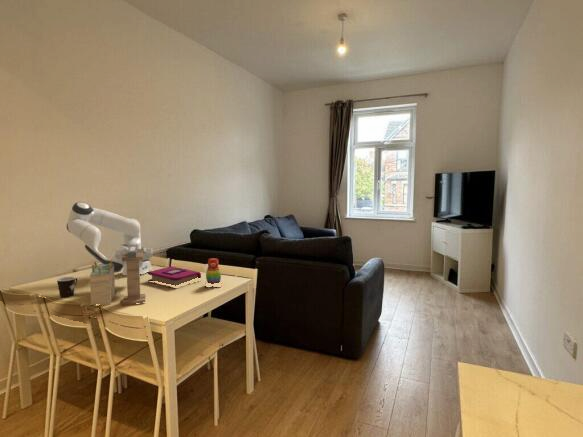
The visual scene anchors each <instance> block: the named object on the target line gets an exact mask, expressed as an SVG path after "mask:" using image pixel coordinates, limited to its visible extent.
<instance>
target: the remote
mask: <svg viewBox="0 0 583 437" xmlns="http://www.w3.org/2000/svg"><path fill="white" fill-rule="evenodd" d="M137 252H138V245H130V247H129V250H128V252H127V255H128V258H136V256H137Z"/></svg>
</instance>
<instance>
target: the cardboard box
mask: <svg viewBox="0 0 583 437" xmlns="http://www.w3.org/2000/svg"><path fill="white" fill-rule="evenodd" d="M91 270H92V272H91V273H90V275H89V285H90V288H89V290H90V306H91V305H96V304H100V306H106V305H107V306H108V305H111V304H112V301H113V299H114V296H115V293H116V286H115V285H116V284H115V283H116V281H115V273H114V265H113V263H112V260H111V261H110V264H108V265H103V264H98V260H97V261H96V260H95V261H93V264H91Z"/></svg>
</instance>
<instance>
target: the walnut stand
mask: <svg viewBox="0 0 583 437" xmlns="http://www.w3.org/2000/svg"><path fill="white" fill-rule="evenodd" d="M139 260H143V253H137V256H136V258H128V255H127V254H123V256H122V261H126V265H127V276H126V284H127V286H126V287H127V291H126V292H127V295H123V297H122V302H121V305H122V307H125V305H128V306H130V305H129V304H136V303H143V302H145V303H146V293H141V275H140V268H139Z"/></svg>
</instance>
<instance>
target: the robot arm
mask: <svg viewBox="0 0 583 437" xmlns="http://www.w3.org/2000/svg"><path fill="white" fill-rule="evenodd" d="M95 225H96V226H95ZM97 226H99V227H101V228H105V229H109V230H112V231H115V232H116V233H120V234H122V235H123V244H120V245H119V246H118V247H117V248H116V250H114V252H113V253H112V254H111V255H110V257H106V256H105V255H104V254H103V253H101V252H100V251H99V245H100V243H101V241H102V231H101V230H100V229H99V228H98V227H97ZM66 230H67V231H68V232H69V233H70V234H72V235H73V236H75V237H76V238H77V239H78V240H80V241H82V242H83V243H84V249H85V250H86V251H87V252H88V253H89V254H90V255H91V256H93V258H95V259H96V260H97V262H100V263H101V265H108V264H110V261H111V260H112V263H113V265H114V274H115V273H119V272H121V271H122V275H123V276H126V277H127V265H126V261H122V256H123V254H127V252H128V250H129V247H130V245H138V252H137V253H143V260H139V268H140V274H144V273H146V272H148V270H149V269H152V268H153V267H152V264H151V259H153V258H152V257H153V255H154V254H153V252H154V251H153V249H154V248H151V247H148V248H145V247H144V246H143V247H142V242H141V241H142V239H141V237H142V236H141V235H142V234H141V223H140V221H139V220H137V219H136V218H129V217H125V216H122V215H120V214H117V213H114V212H112V211H108V210H104V209H101V208H96V207H92V206H91V205H90V204H89V203H87V202H83V201H79V202H75V203H74V204H73V206H72V207H71V210H70V212H69V215H68V218H67V223H66ZM144 275H145V274H144Z"/></svg>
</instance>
